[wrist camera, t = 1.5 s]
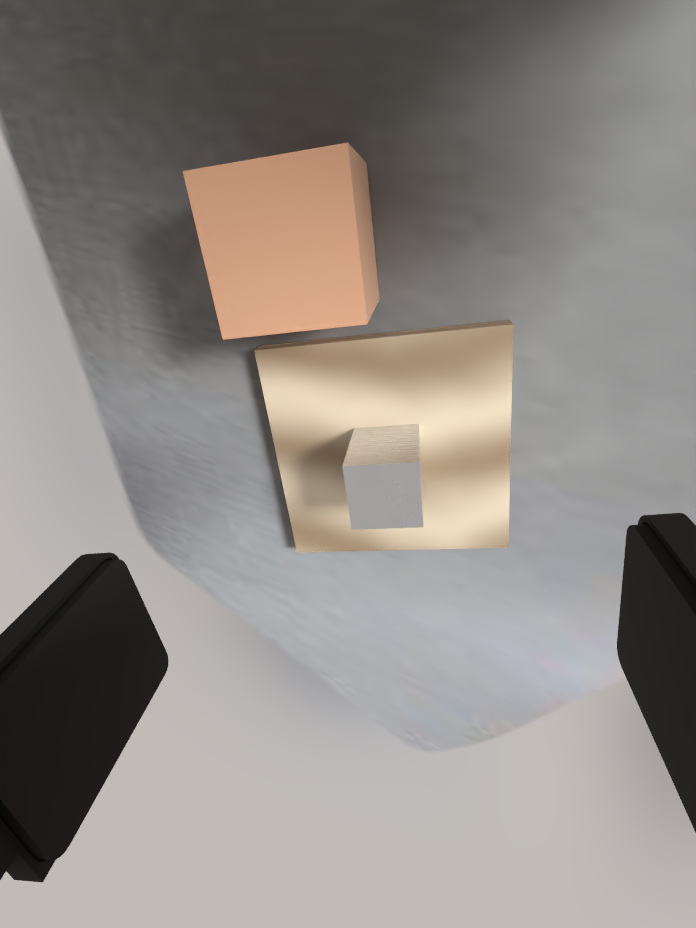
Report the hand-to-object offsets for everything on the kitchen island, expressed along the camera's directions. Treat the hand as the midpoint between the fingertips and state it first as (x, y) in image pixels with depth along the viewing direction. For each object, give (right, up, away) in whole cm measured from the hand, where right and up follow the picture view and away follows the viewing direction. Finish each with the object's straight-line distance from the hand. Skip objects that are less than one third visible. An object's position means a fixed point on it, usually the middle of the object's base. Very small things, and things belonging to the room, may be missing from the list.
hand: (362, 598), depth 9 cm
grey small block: (+2, +3, +20) cm, 20 cm away
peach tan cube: (-2, +14, +16) cm, 22 cm away
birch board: (+2, +4, +21) cm, 21 cm away
